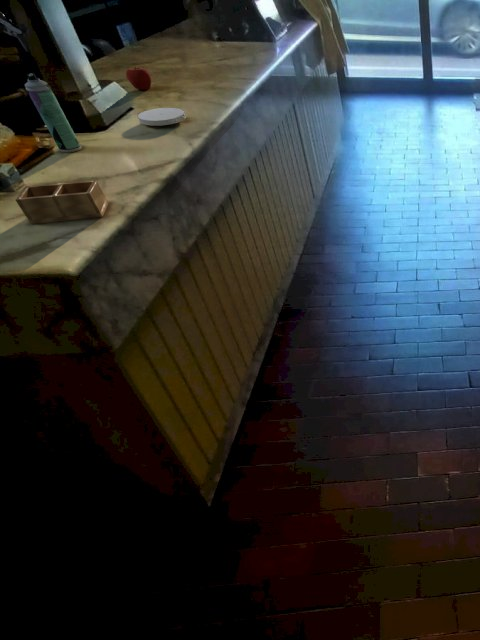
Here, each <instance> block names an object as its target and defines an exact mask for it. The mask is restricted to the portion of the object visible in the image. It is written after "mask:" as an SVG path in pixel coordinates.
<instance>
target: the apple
mask: <svg viewBox="0 0 480 640" xmlns="http://www.w3.org/2000/svg"><path fill="white" fill-rule="evenodd" d="M125 76H126V79H127V81H129V83H130V84H131V86H132V87H133V88H134V89H136V90H138V91H147V90H149V89H150V88H151V86H152V75H151V74H150V72H149V71H148V70H147V69H146V68H145V67H142V66H141V67H140V66H133V67H130V68H128V69H127V70H126V71H125Z"/></svg>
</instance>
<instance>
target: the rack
mask: <svg viewBox="0 0 480 640" xmlns="http://www.w3.org/2000/svg"><path fill="white" fill-rule="evenodd" d="M15 202H16V203H17V206H18V207H19V208H20V209H21V211H22V212H23V214H24V216H25V217H26V219H27V221H28V222H29V223H30V224H31V225H35V224H45V223H55V222H57V223H58V222H66V221H75V220H85V219H95V218H103V216H104V214H105V213H106V210H107V208H108V206H109V201H108V200H107V197H106V196H105V194H104V191H103V189H102V187H101V186H100V184H99V182H98V180H85V181H73V182H72V181H71V182H63V183H50V184H36V185H26V186H24V187H23V189H22V190H21V192H20V193H19V194H18V196H16V198H15Z"/></svg>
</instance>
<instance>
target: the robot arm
mask: <svg viewBox="0 0 480 640" xmlns="http://www.w3.org/2000/svg"><path fill="white" fill-rule="evenodd" d="M4 14H5V13H2V12H1V11H0V34H4V33H5V34H7V35H9V36H11V37H12V36H13V37H15V38H16V39H18V42H19V43H20V44H21V46H22V47H23V49H24V50H25V51H26V52H27V53H29V52H31V51H30V50H31V45H30V43H29V41H28V40H27V39H26V38H29V37H30V33H29V29H28V28H27V26H26V25H25V24H24V23H23V24H21V25H20V24H19V26H20V27H21V29H19V28H18V27H15V26H13V25H12V24H11V23H12V20H11V19H9V20H7V19H6V17H5V15H4ZM9 21H10V22H11V23H10V22H9Z"/></svg>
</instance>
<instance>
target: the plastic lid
mask: <svg viewBox="0 0 480 640" xmlns="http://www.w3.org/2000/svg"><path fill="white" fill-rule="evenodd" d="M137 118H138V120H139V122H140V124H141V125H144V126H152V127H153V126H154V127H155V126H169V125H174V124H178V123H180V122H182V121H185V120H186V119H187V115H186V113H185V111H184V110H183V109H181V108H176V107H159V108H151V109H147V110H145V111H141V112H140V113H138V114H137Z"/></svg>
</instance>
